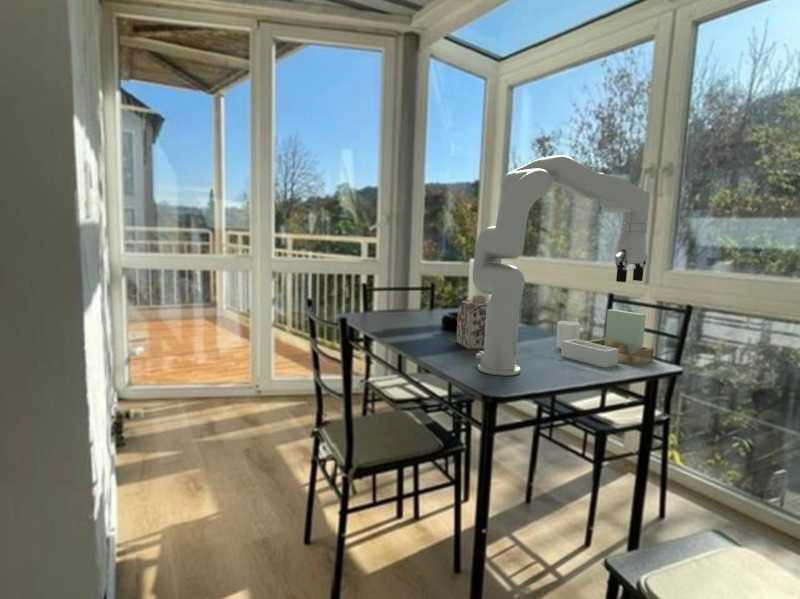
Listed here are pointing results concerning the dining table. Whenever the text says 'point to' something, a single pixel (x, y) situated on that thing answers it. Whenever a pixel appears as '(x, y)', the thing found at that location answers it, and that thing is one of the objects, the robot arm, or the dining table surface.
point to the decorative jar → (472, 322)
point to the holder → (590, 352)
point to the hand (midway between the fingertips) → (629, 281)
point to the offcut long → (623, 352)
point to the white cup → (567, 331)
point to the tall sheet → (625, 329)
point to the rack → (631, 354)
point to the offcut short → (618, 346)
